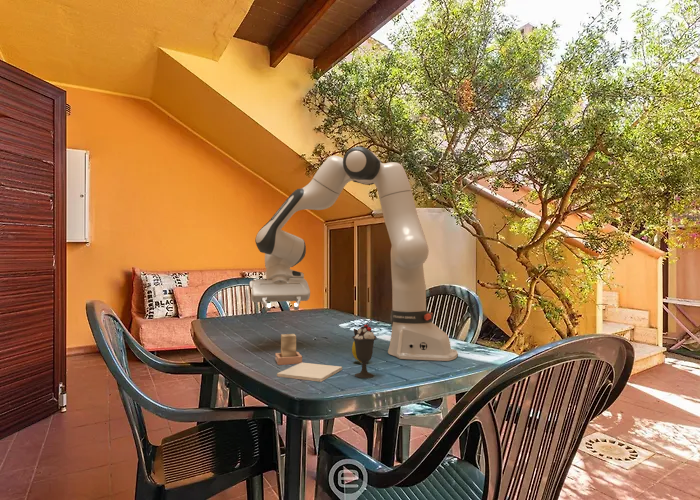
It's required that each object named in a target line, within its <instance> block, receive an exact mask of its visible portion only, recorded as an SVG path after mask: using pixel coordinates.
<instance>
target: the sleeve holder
mask: <svg viewBox="0 0 700 500" xmlns="http://www.w3.org/2000/svg"><path fill="white" fill-rule="evenodd" d="M274 355H275V356H274V358H275V359H274V360H275V362H276V364H277V365H278V366H283V365H285V366H286V365H287V366H288V365H297V364H299V363H303V356H302V354H300V352H299V351H296V356H295V357H281V352H275V354H274Z"/></svg>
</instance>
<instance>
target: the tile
mask: <svg viewBox="0 0 700 500" xmlns="http://www.w3.org/2000/svg"><path fill="white" fill-rule="evenodd" d="M341 371H343V366H339V365H329V364H319V363H309V362H302V363H299V364H294V365H293V366H291V367H288V368H285V369H284V370H281V371H280V372H277V373H276V377H277V378H287V379H293V380H294V379H297V380H303V381H313V382H318V383H319V382H320V383H322V382H323V381H326V380H327V379H329V378H330V377H332V376H334V375H336V374H337V373H339V372H341Z"/></svg>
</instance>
